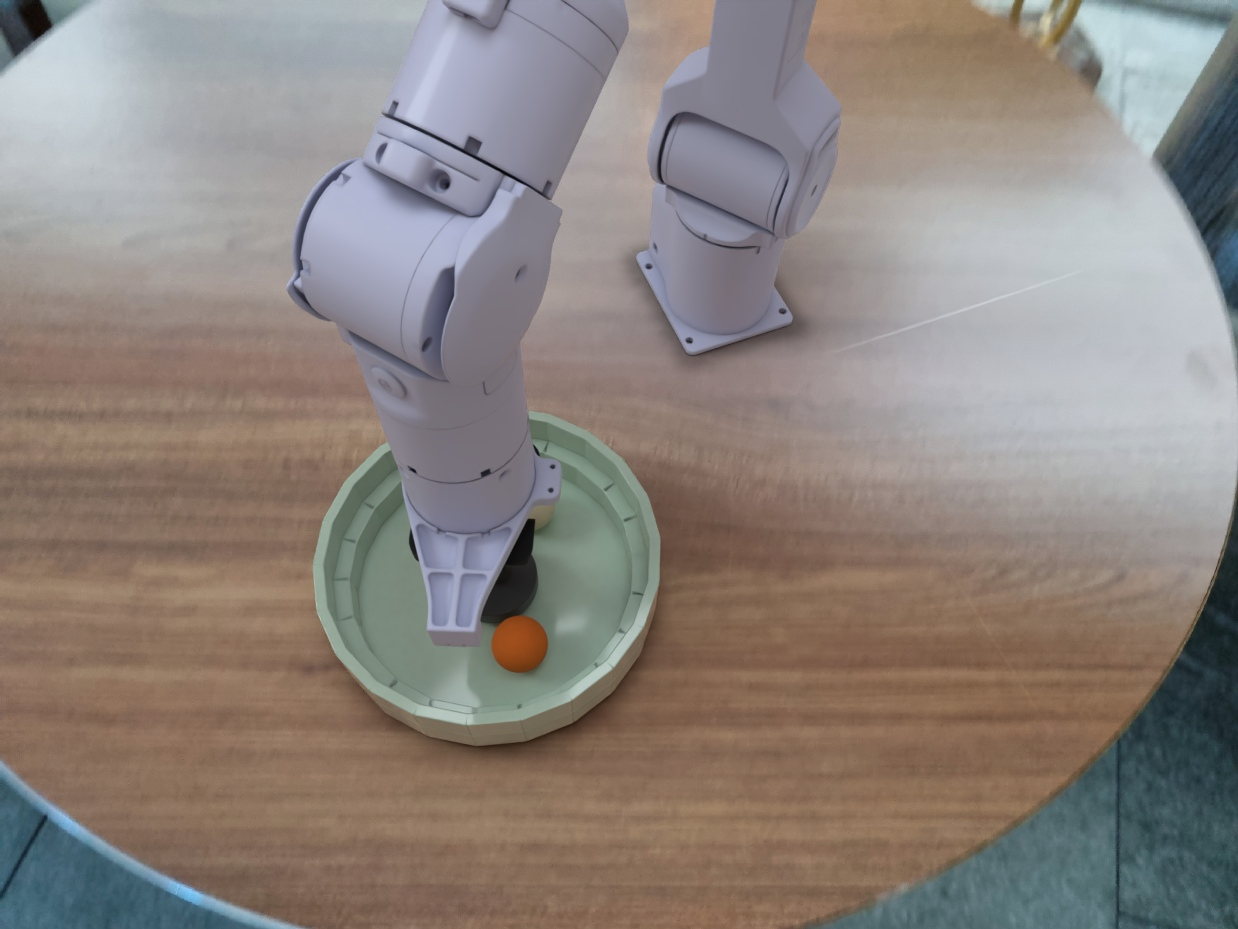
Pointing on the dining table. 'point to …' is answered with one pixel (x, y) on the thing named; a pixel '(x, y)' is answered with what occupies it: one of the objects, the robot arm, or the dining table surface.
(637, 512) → the bowl
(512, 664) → the orange ball
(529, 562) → the black peg stand
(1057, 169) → the dining table surface
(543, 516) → the beige ball
